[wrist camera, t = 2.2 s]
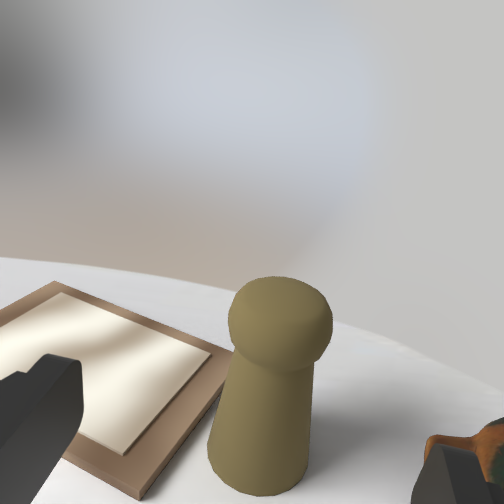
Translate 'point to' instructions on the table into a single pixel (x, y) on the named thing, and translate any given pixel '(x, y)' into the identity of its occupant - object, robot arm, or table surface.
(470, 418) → the table surface
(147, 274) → the table surface
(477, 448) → the brown lumpy oval piece
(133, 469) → the brown picture frame
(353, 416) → the table surface
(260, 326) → the cork
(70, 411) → the robot arm
